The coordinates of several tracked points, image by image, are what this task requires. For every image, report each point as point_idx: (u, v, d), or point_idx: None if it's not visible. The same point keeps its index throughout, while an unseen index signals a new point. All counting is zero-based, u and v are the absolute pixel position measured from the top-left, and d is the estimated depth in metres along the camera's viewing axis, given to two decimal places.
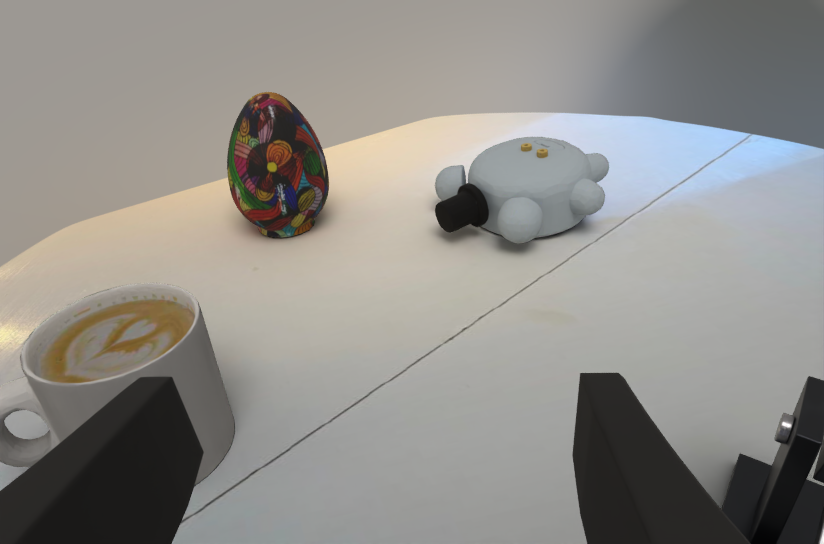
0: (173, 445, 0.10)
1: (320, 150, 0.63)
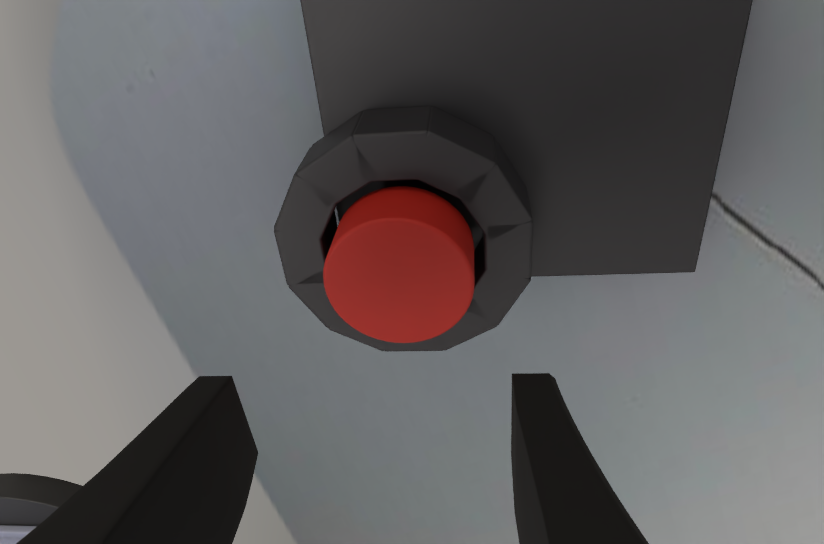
0: (233, 446, 0.10)
1: None
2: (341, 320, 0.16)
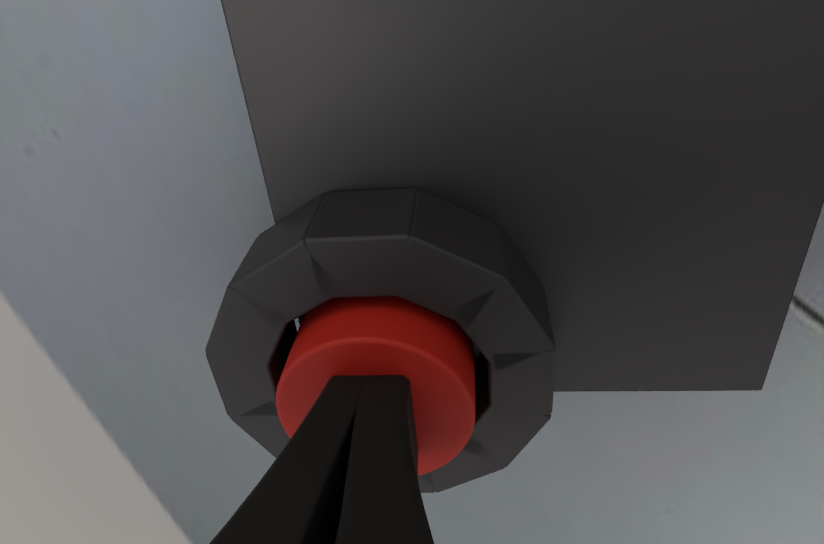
0: None
1: None
2: None
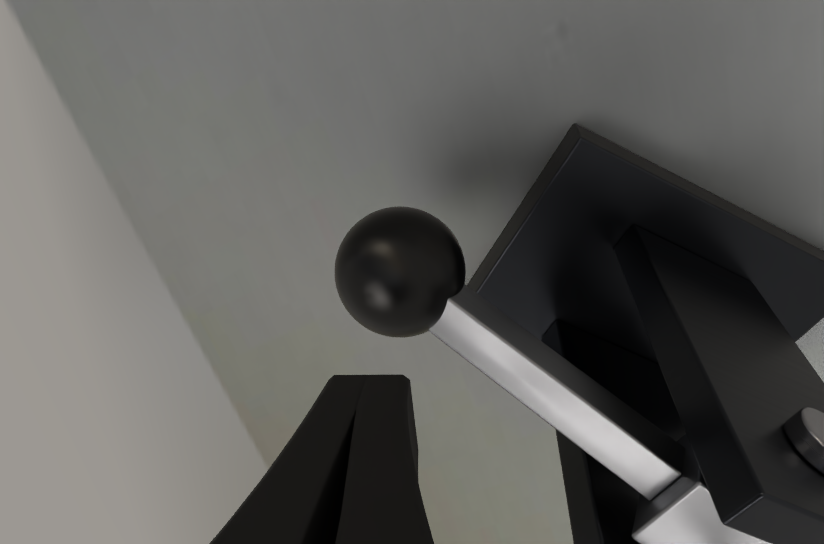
0: None
1: None
2: None
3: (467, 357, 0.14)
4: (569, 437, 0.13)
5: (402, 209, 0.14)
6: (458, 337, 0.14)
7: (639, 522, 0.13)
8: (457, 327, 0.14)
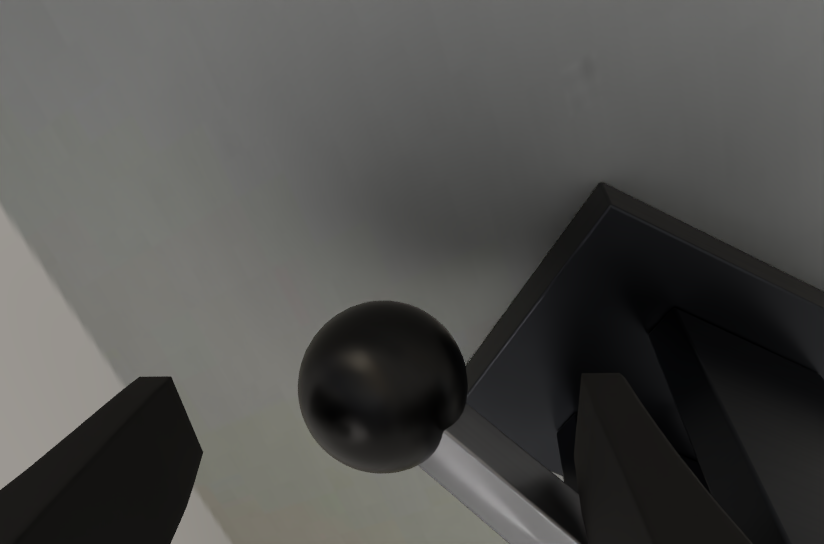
0: (172, 445, 0.10)
1: None
2: None
3: (469, 504, 0.10)
4: None
5: (385, 308, 0.11)
6: (457, 479, 0.10)
7: None
8: (456, 467, 0.10)
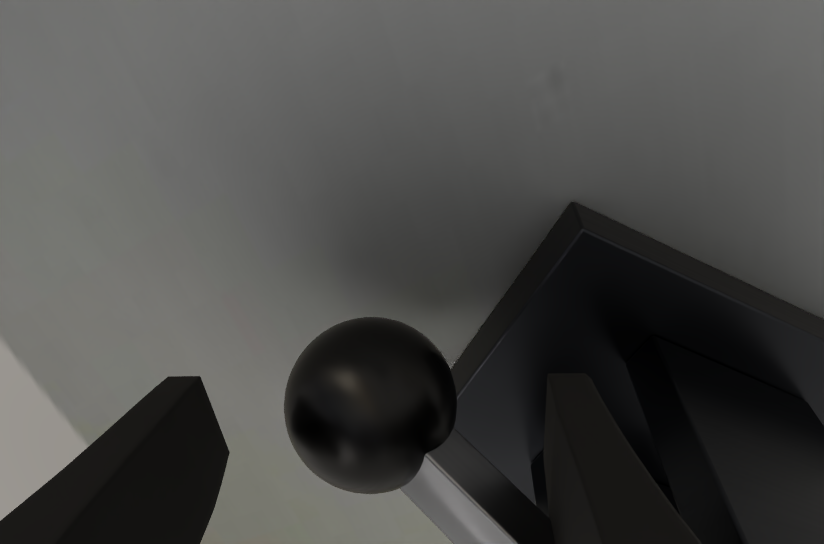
0: (201, 445, 0.10)
1: None
2: None
3: (448, 534, 0.10)
4: None
5: (375, 325, 0.10)
6: (437, 506, 0.10)
7: None
8: (436, 493, 0.10)
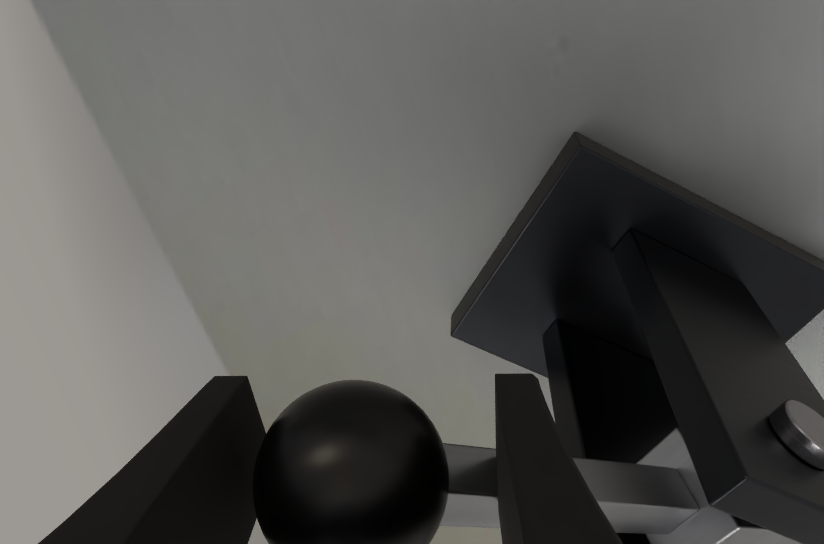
0: (248, 446, 0.10)
1: None
2: None
3: (477, 525, 0.11)
4: None
5: (344, 420, 0.09)
6: (464, 516, 0.10)
7: None
8: (462, 509, 0.10)
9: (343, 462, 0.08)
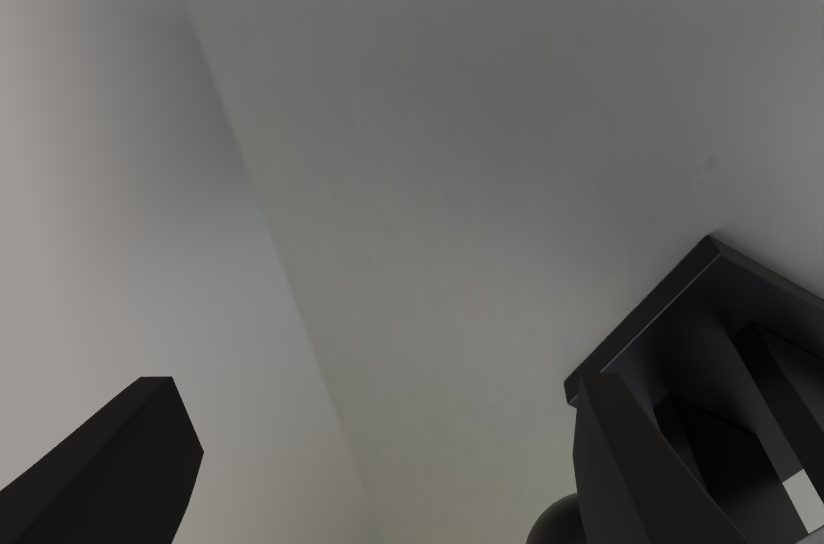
0: (173, 445, 0.10)
1: None
2: None
3: None
4: None
5: None
6: None
7: None
8: None
9: None
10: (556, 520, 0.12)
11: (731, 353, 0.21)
